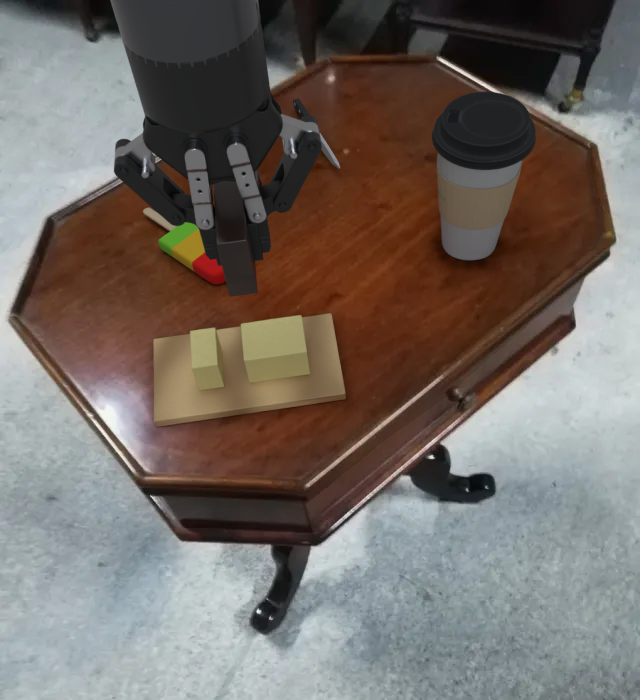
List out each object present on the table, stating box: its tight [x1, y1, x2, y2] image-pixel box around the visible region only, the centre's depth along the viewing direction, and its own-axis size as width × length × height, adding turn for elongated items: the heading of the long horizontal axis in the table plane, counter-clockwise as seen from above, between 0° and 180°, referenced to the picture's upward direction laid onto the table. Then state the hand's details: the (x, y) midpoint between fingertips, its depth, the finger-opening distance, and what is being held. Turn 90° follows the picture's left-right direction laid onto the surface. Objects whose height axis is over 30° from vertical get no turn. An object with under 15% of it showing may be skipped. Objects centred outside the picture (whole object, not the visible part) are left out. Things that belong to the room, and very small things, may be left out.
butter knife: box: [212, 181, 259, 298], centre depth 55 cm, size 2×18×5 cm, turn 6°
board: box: [153, 312, 347, 428], centre depth 72 cm, size 18×10×1 cm, turn 97°
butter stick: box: [240, 314, 310, 383], centre depth 70 cm, size 6×4×4 cm
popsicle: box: [142, 207, 226, 285], centre depth 82 cm, size 6×15×2 cm, turn 47°
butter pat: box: [189, 327, 224, 390], centre depth 70 cm, size 2×4×4 cm, turn 7°
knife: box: [292, 98, 341, 169], centre depth 90 cm, size 15×1×2 cm, turn 22°
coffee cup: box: [431, 91, 537, 261], centre depth 73 cm, size 9×9×15 cm
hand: (240, 254), depth 54 cm, fingers closed on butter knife, 2 cm apart
